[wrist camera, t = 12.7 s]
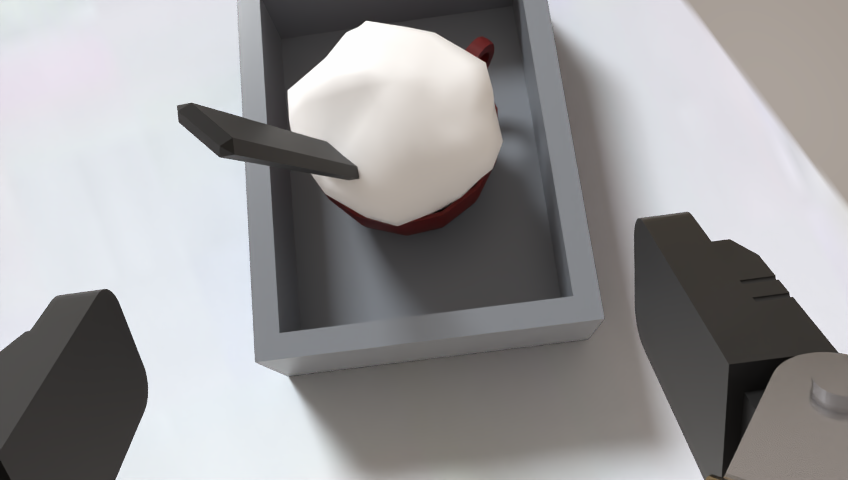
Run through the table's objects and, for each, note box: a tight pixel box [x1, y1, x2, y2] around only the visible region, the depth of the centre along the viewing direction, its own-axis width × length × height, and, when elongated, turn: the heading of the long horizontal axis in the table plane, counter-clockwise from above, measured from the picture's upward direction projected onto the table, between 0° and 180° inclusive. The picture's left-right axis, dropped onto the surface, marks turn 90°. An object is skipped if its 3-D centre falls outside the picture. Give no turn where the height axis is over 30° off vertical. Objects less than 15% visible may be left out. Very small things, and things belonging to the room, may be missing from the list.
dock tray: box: [237, 0, 605, 376], centre depth 27 cm, size 11×14×4 cm
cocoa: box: [177, 21, 503, 236], centre depth 23 cm, size 10×6×12 cm, turn 117°
